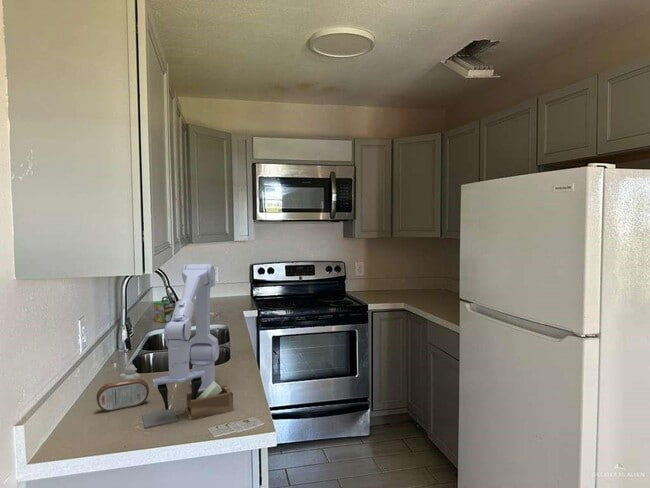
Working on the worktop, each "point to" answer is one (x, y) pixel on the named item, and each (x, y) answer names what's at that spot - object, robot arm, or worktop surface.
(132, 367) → the white tapered cone
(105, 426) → the worktop surface
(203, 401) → the pocket block
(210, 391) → the sage bar
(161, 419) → the mat
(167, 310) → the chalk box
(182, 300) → the robot arm
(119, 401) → the tin
